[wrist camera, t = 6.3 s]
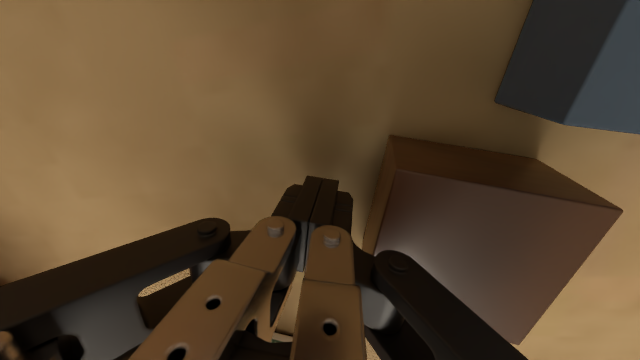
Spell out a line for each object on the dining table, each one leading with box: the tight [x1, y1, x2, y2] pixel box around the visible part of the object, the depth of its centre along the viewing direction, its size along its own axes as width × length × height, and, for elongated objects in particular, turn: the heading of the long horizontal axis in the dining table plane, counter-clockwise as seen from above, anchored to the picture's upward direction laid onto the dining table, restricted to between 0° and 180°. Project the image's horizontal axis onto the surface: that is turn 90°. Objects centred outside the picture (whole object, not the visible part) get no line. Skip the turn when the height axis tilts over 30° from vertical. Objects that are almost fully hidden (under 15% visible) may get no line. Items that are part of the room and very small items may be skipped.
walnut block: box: [362, 135, 623, 345], centre depth 10 cm, size 6×6×4 cm
